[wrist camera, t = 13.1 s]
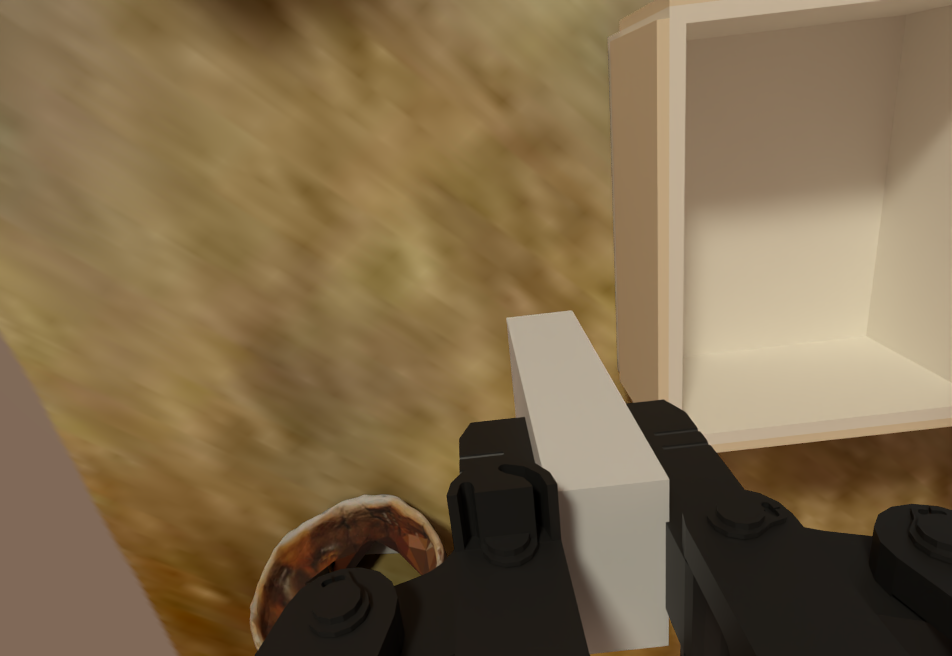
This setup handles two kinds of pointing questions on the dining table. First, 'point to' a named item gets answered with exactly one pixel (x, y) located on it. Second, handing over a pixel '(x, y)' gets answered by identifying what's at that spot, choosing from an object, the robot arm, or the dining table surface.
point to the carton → (785, 215)
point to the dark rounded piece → (341, 550)
